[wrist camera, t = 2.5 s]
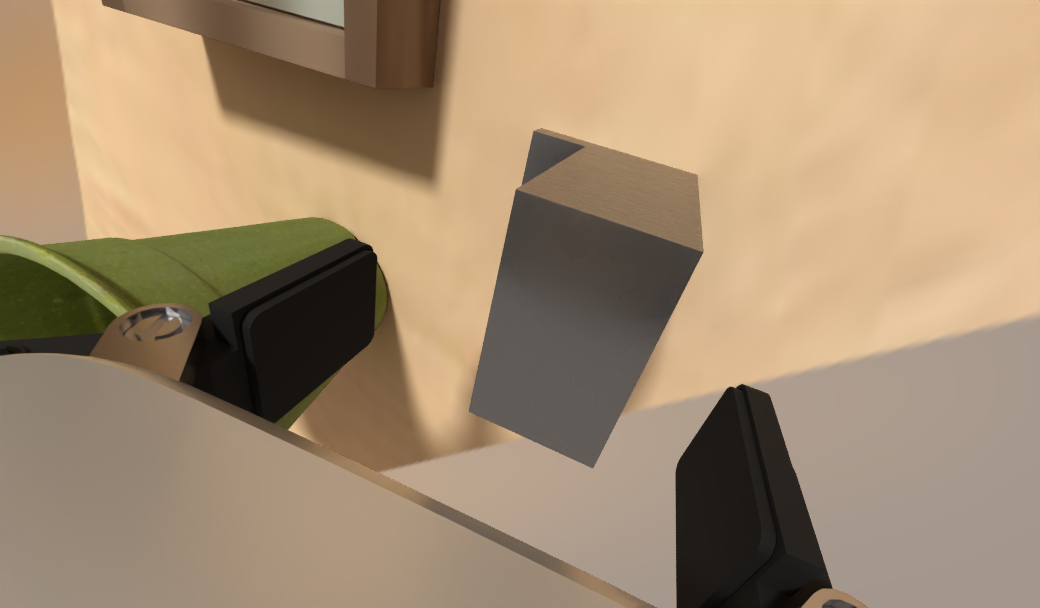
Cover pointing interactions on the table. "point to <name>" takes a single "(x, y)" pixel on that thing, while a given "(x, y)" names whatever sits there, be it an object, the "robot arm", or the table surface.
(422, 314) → the table surface
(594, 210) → the grey block
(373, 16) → the square wooden tray
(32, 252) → the plant pot
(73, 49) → the table surface
